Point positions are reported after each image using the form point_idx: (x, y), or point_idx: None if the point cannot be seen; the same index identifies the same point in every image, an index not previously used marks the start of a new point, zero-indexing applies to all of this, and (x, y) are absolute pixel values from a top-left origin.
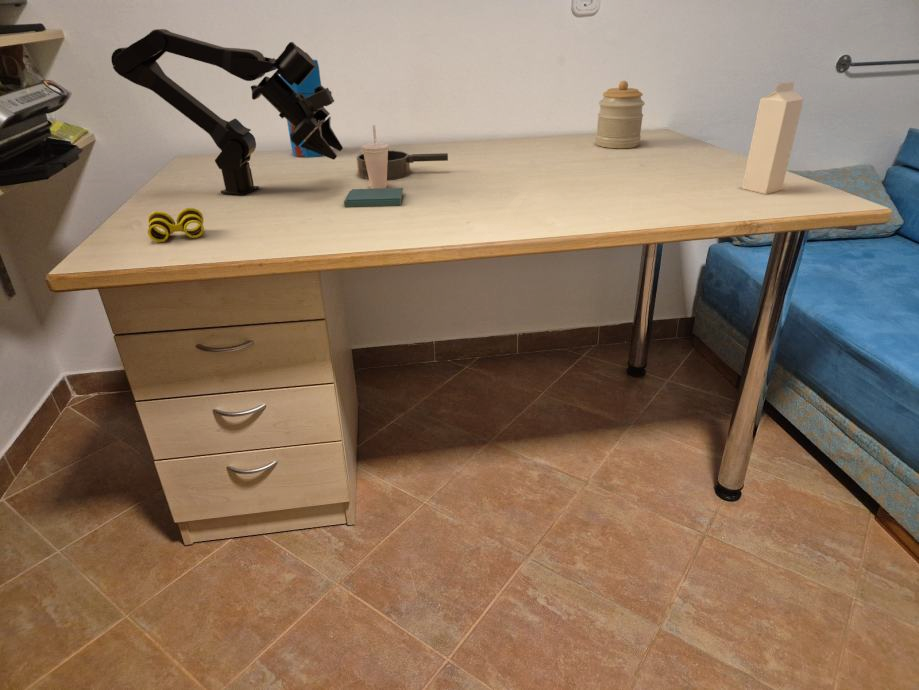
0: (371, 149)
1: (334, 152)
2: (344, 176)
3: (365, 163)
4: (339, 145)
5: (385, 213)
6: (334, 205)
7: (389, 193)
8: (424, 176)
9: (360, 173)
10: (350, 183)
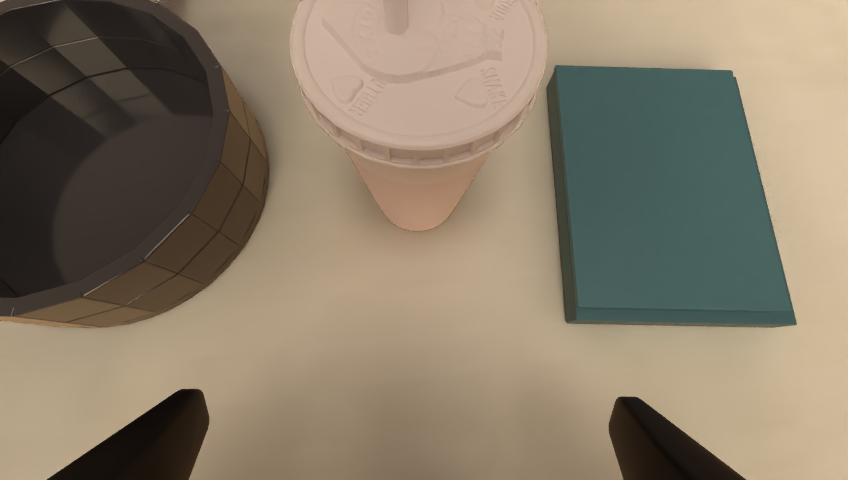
0: (540, 62)
1: (645, 424)
2: (105, 418)
3: (177, 241)
4: (178, 430)
5: (832, 142)
6: (746, 387)
7: (657, 116)
8: (241, 9)
9: (164, 302)
10: (297, 355)
